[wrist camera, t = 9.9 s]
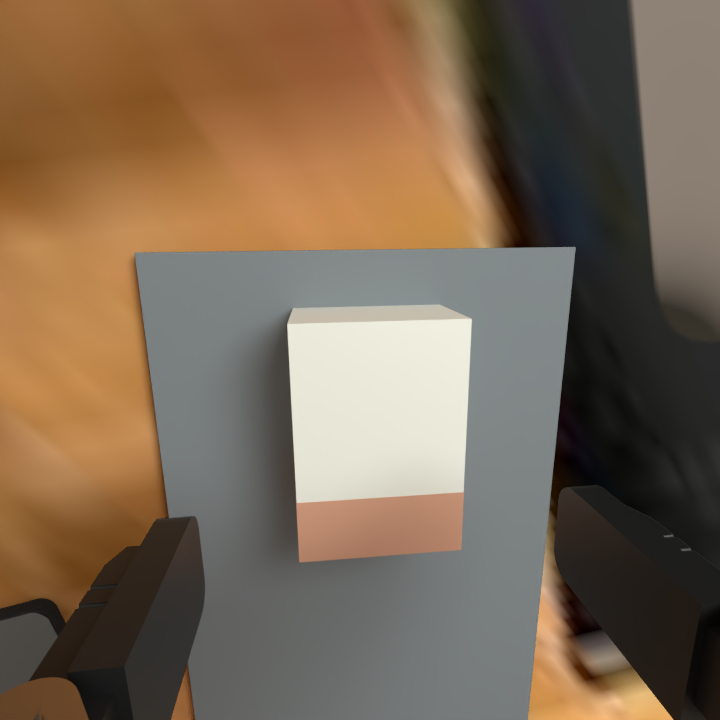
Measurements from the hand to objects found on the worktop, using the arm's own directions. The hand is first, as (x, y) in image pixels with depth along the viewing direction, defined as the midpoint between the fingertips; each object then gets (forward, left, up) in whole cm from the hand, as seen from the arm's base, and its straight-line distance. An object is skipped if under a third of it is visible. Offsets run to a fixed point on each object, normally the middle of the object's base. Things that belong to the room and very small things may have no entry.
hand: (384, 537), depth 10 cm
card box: (0, -1, -8) cm, 8 cm away
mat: (-6, -1, -9) cm, 10 cm away
